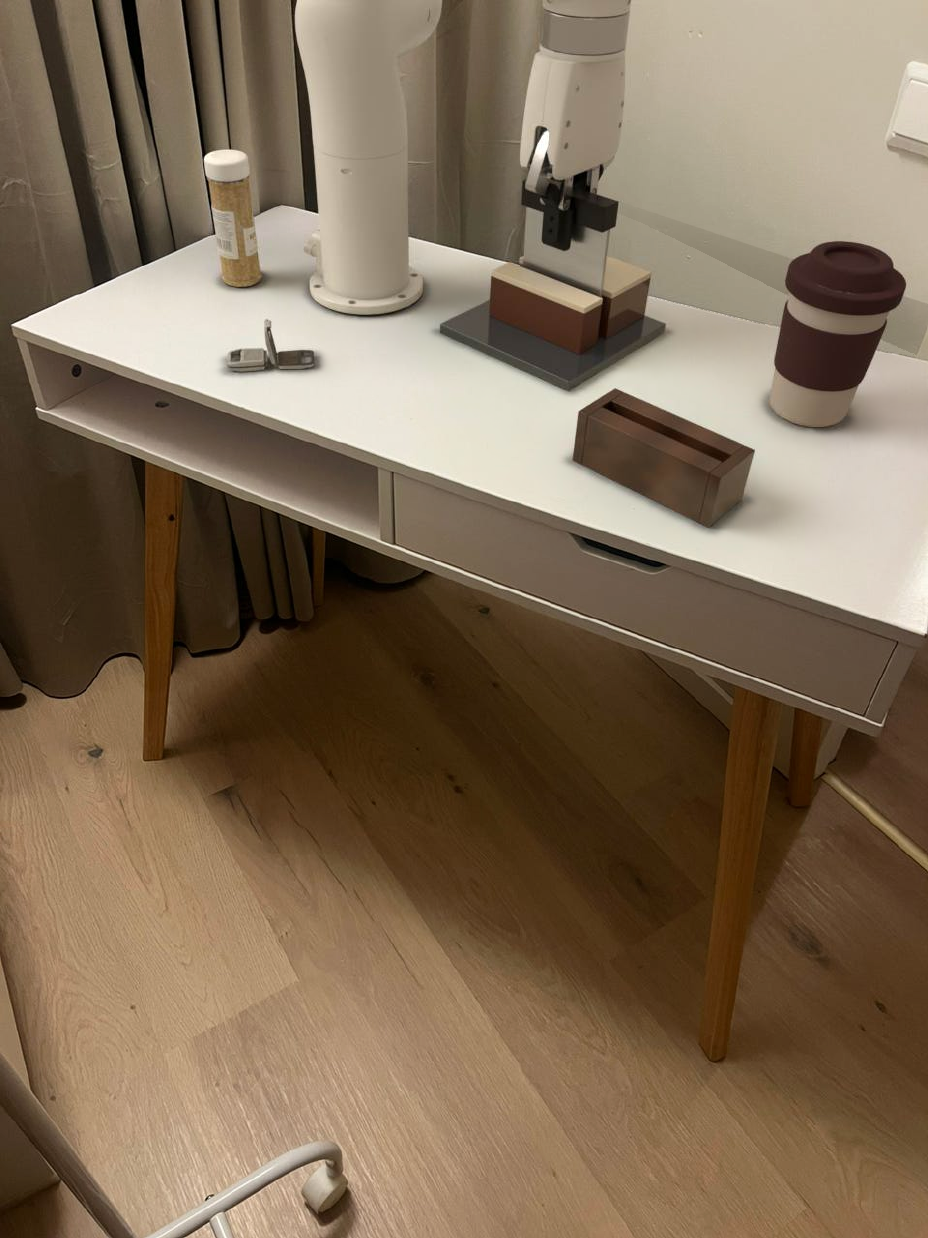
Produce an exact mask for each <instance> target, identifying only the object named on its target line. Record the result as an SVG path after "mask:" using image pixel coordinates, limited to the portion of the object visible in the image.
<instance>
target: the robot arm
mask: <svg viewBox="0 0 928 1238" xmlns="http://www.w3.org/2000/svg"><path fill="white" fill-rule="evenodd" d="M541 4H542V5H541V23H540V37H539V51H538V52H536V53H535V54H534V57H533V60H532V61H533V62H532V65H531V70H530V74H529V78H528V83H527V84H528V85H527V90H526V94H525V95H526V96H525V103H524V112H523V118H522V128H521V136H520V137H521V138H520V150H519V153H520V154H519V164H520V167H521V169H523V170H525V171H528V174H527V177H526V179H527V180H526V183H525V188H526V189H527V190H529V191H532V192H535V193H538V195H539V196H540V202H541V204H544V212H543V225H542V239H541V240H542V243H543V244H545V245H548V246H551V247H554V248H556V249H559V250H562V251H567V250H569V249H570V246H571V235H572V225H573V213H574V209H571V208H569V207H570V203H571V193H572V187H575V188H579V189H582V190H585V191H588V192H591V193H594V194H597V195H598V187H599V182H600V180H601V178H602V176H603V175H604V171H605V170H607V168H608V167H609V166H610V165H611V164H612V163H613V162H614V159H615V156H616V154H617V153H618V149H619V145H620V140H621V134H622V127H623V116H624V108H625V107H624V105H625V90H626V51H627V49H626V48H627V42H628V32H629V25H630V16H631V8H632V7H631V6H632V0H542V3H541ZM442 7H443V0H296V5H295V9H294V10H295V11H294V28H295V35H296V42H297V47H298V50H299V55H300V60H301V64H302V68H303V71H304V77H305V81H306V88H307V94H308V102H309V109H310V121H311V130H312V131H311V132H312V145H313V155H314V157H313V158H314V169H315V171H314V173H315V184H316V194H317V195H316V197H317V212H318V226H319V229H316V230H314V232H313V233H312V235H311V241H309V240H308V241H306V242H305V244H304V245H303V252H304V253H305V254H306V255H308V256H311V257H314V258H316V263H317V264H316V267H317V270H316V271H314V272H313V274H312V275H311V276H310V279H309V293H310V295H311V297H312V299H314V301H315V302H318V304H320V306H323V307H325V308H327V309H329V310H332V311H334V312H339V313H343V314H351V315H359V316H360V315H362V316H363V315H364V316H365V315H367V316H369V315H370V316H371V315H382V314H388V313H392V312H397V311H400V310H403V309H405V308H407V307H410V306H411V305H413V304H414V303H416V302H417V301H418V300H419V299H420V298H421V296H422V294H423V293H424V279H423V277H422V275H421V274H420V272H419V271H418V270H416V269H415V268H414V267H412V266H410V251H409V250H410V248H409V247H410V244H409V243H410V241H409V238H410V237H409V158H408V157H409V156H408V155H409V151H408V150H409V149H408V118H407V117H408V116H407V107H406V101H405V96H404V93H403V88H402V84H401V81H400V76H399V71H398V60H399V58H401V57H403V56H405V55H406V54H408V53H410V52H412V51H413V50H415V49H417V48H418V47H420V46H421V45H423V44H424V43H425V42H426V41H428V39H429V38H430V37H431V36H432V35H433V33H434V31H435V30H436V28H437V26H438V23H439V22H440V18H441V15H442ZM554 181H557V182H560V183H561V186H560V189H559V188H558V187H557V185H555V184H553V183H554Z"/></svg>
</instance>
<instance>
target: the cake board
mask: <svg viewBox="0 0 928 1238" xmlns="http://www.w3.org/2000/svg"><path fill="white" fill-rule="evenodd" d="M518 262H519V264H518V265H519V266H521V267H523V255H522V256H520V257H519V261H518ZM651 278H652V271H650V270H647V269H645V268H641V267H639V266H636V265H634V264H631V263H628V262H625V261H623V260H620V259H617V258H615V257H612V256H609V255H607V260H606V269H605V277H604V285H603V293H602V298H603V301H602V309H601V316H600V324H599V332H598V339H597V345H595V346H594V347H592V348H590V349H588V350H587V351H585V352H583V353H582V354H580V355H579V354H577V353H574V352H572V351H570V350H567V349H565V348H563V347H560V346H558V345H556V344H553V343H551V342H549V341H546V340H544V339H542V338H539V337H537V336H535V335H532V334H530V333H528V332H526V331H523V330H521V329H519V328H516V327H514V326H512V325H509V324H507V323H505V322H502V321H500V320H498V319H495V318H493V317H491V316H489V310H490V299H488V300H486V301H484V302H482V303H480V304H478V305H476V306H474V307H472V308H470V309H467V310H465V311H463V312H461V313H459V314H457V315H455V316H453V317H451V318H449V319H447V320H445V321H442V322H441V323H439V333H440V334H442V335H444V336H446V337H448V338H450V339H453V340H455V341H458V342H459V343H462V344H464V345H466V346H469V347H471V348H472V349H475V350H477V351H479V352H481V353H484V354H485V355H488V356H490V357H493V358H494V359H497V360H499V361H501V362H503V363H505V364H508V365H510V366H512V367H513V368H517V369H519V370H520V371H523V372H526V374H527V373H528V374H530V375H532V376H534V377H537V378H538V379H541V380H542V381H545V382H547V383H549V384H552V385H554V386H556V387H559V388H561V389H563V390H564V391H566V392H567V391H570V390H573V389H574V388H575V387H577V386H579V385H580V384H582V383H583V382H585V381H586V380H588V379H590V378H592V377H593V376H595V375H596V374H598V373H600V372H602V371H603V370H605V369H607V368H608V367H610V366H611V365H613V364H615V363H616V362H619V361H620V360H622V359H623V358H625V357H626V356H629V354H631V353H633V352H634V351H636V350H638V349H640V348H641V347H643V346H645V345H647V344H648V343H649V342H651V341H653V340H654V339H656V338H657V337H659V336H662V335H663V334H664V333H665V332H666V326H667V323H666V322H662V321H660V320H657V319H656V318H653V317H650V316H647V315H646V310H647V309H646V308H647V302H648V298H649V292H650V284H651Z"/></svg>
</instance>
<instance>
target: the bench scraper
mask: <svg viewBox="0 0 928 1238" xmlns="http://www.w3.org/2000/svg"><path fill="white" fill-rule="evenodd" d="M526 180H527V178H524V179H523V180H522V183H521V200H520V201H521V202H520V203H521V204H520V205H521V206H524V207H525V224H524V237H523V238H524V241H523V255H522V256H523V267H524V268H526V269H529V270H532V271H534V272H537V273H539V274H542V275H544V276H547V277H549V278H552V279H554V280H557V281H560V282H562V283H565V284H567V285H570V286H572V287H575V288H577V289H580V290H583V291H585V292H588V293H590V294H593V295H595V296H598V297H600V298H602V293H603V285H604V277H605V269H606V260H607V256H608V250H609V242H610V235H611V229H614V228H616V226H617V218H618V211H619V203H620V202H619V200H615V199H612V198H609V197H606V196H603V195H601V194H598V193H597V194H594V193H591V192H588V191H585V190H582V189H579V188H575V187H572V193H571V203H570V207H569V208H571V209H574V213H573V225H572V235H571V246H570V249H569V250H567V251H562V250H559V249H556V248H554V247H551V246H548V245H545V244H543V243H542V240H541V239H542V225H543V212H544V204H541V202H540V196H539V195H538V193H535V192H532V191H529V190H527V189H526V188H525V183H526ZM553 184H555V185H557V187H558V188H559V189H560V186H561V183H560V182H557V181H554V183H553Z"/></svg>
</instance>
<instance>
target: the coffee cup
mask: <svg viewBox="0 0 928 1238" xmlns="http://www.w3.org/2000/svg"><path fill="white" fill-rule="evenodd" d="M894 266H895V265H894V261H893V259H892V258H891V257H890V256H889V255H888V254H887V253H886V252H884V251H883V250H881V249H879V248H876V247H875V246H871V245H868V244H865V243H860V242H855V241H846V240H845V241H844V240H834V241H826V242H822V243H820V244H817V245H816V246H814V247H813V248H812V249H811V250H810V251H809V252H807V253H804V254H801V255H799V256H797V257H795V258H793V259H792V260H791V261H790V263H789V265H788V267H787V271H786V275H785V279H784V285H785V288H786V290H787V291H788V299H787V300H786V301H785V303H784V307H783V311H782V317H781V322H780V327H779V333H778V337H777V344H776V349H775V354H774V359H773V364H774V372H773V378H772V382H771V388H770V393H769V404H770V407H771V409H772V410H773V412H774V413H775V414H777V415H778V416H779V417H781V418H782V419H783V420H786V421H788V422H790V423H792V424H796V425H799V426H803V427H810V428H825V427H831V426H834V425H836V424H839V423H840V422H842V421H843V420H844V419H845V417H846V416H847V414H848V412H849V410H850V407H851V405H852V402H853V400H854V397H855V396H856V393H857V390H858V388H859V386H860V385H861V384H862V382H863V381H864V379H865V377H866V375H867V373H868V370H869V368H870V366H871V363H872V360H873V359H874V356H875V354H876V351H877V349H878V346H879V344H880V341H881V339H882V337H883V335H884V333H885V330H886V327H887V325H888V316H889V313H890V312H891V311H893V310H895V309H897V308H898V306H899V305H900V304H901V302H902V299H903V298H904V295H905V291H906V288H907V281H906V279H905V276H904V275H903V274H902V273H901V272H900V271H899V270H897V269H896V268H895V267H894Z"/></svg>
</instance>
